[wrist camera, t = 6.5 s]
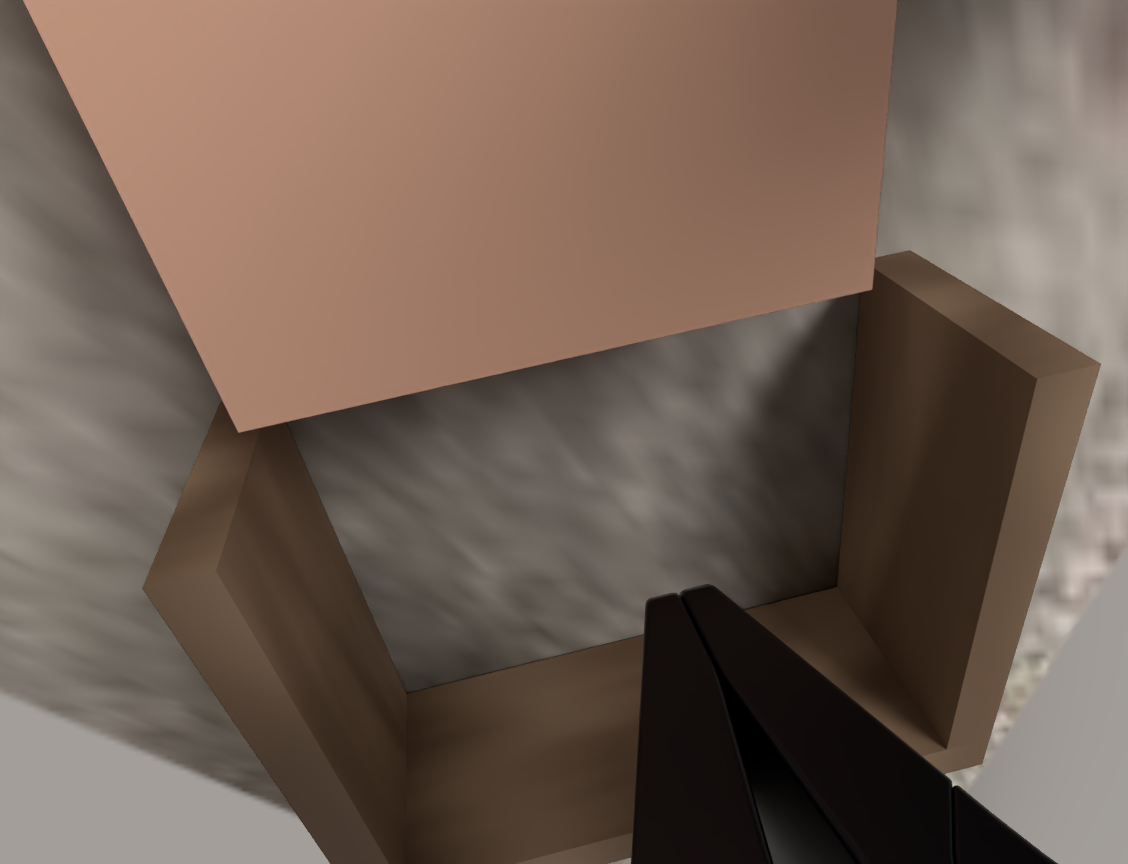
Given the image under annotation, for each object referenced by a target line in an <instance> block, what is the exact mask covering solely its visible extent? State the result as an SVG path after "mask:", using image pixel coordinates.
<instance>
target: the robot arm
mask: <svg viewBox="0 0 1128 864" xmlns="http://www.w3.org/2000/svg"><path fill="white" fill-rule="evenodd" d="M631 864H1058V863H1056V862H1055V861H1053V860H1052V859H1050V858H1049V857H1048V856H1046V855H1045V854H1044V853H1042V852H1041V851H1040V850H1039V849H1037V848H1036V847H1035V846H1033V845H1032V844H1031V843H1030V842H1028V841H1027V840H1026V839H1024V838H1023V837H1022V836H1021V835H1019V834H1018V833H1017V832H1015V831H1014V830H1013V829H1012V828H1010V827H1009V826H1008V825H1007V824H1005V823H1004V822H1003V821H1001V820H1000V819H999V818H998V817H996V816H995V815H994V814H992V813H991V812H990V811H989V810H988V809H986V808H985V807H984V806H983V805H981V804H980V803H979V802H978V801H977V800H975V799H974V798H973V797H972V796H971V795H969V794H968V793H967V792H966V791H965V790H963V789H962V788H961V787H960V786H954V787H953V788H952V781H951V780H950V778H948V777H947V776H946V775H945V774H943V773H942V772H941V771H940V770H939V769H937V768H936V767H935V766H934V765H932V764H931V763H930V762H929V761H928V760H926V759H925V758H924V757H923V756H921V755H920V754H919V753H918V752H917V751H915V750H914V749H913V748H912V747H910V746H909V745H908V744H907V743H906V742H904V741H903V740H902V739H901V738H899V737H898V736H897V735H896V734H895V733H893V732H892V731H891V730H890V729H888V728H887V727H886V726H885V725H884V724H882V723H881V722H880V721H879V720H877V719H876V718H875V717H874V716H873V715H871V714H870V713H869V712H868V711H866V710H865V709H864V708H863V707H862V706H860V705H859V704H858V703H857V702H856V701H854V700H853V699H852V698H851V697H849V696H848V695H847V694H846V693H845V692H843V691H842V690H841V689H840V688H838V687H837V686H836V685H835V684H834V683H832V682H831V681H830V680H829V679H827V678H826V677H825V676H824V675H823V674H821V673H820V672H819V671H818V670H816V669H815V668H814V667H813V666H812V665H810V664H809V663H808V662H807V661H805V660H804V659H803V658H802V657H801V656H799V655H798V654H797V653H796V652H794V651H793V650H792V649H791V648H790V647H788V646H787V645H786V644H785V643H783V642H782V641H781V640H780V639H779V638H777V637H776V636H775V635H774V634H772V633H771V632H770V631H769V630H768V629H766V628H765V627H764V626H763V625H761V624H760V623H759V622H758V621H757V620H755V619H754V618H753V617H752V616H750V615H749V614H748V613H747V612H746V611H744V610H743V609H742V608H741V607H739V606H738V605H737V604H736V603H735V602H733V601H732V600H731V599H730V598H729V597H727V596H726V595H725V594H724V593H722V592H721V591H720V590H719V589H718V588H716V587H715V586H713V585H710V584H706V585H702V586H698V587H693V588H689V589H685V590H683V591H682V592H681V593H680V595H678V594H677V593H669V594H665V595H661V596H657V597H653V598H650V599H648V600H647V602H646V607H645V623H644V641H643V659H642V677H641V695H640V713H639V731H638V748H637V766H636V784H635V802H634V820H633V838H632V856H631Z"/></svg>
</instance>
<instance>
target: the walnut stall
mask: <svg viewBox="0 0 1128 864" xmlns="http://www.w3.org/2000/svg"><path fill="white" fill-rule="evenodd" d="M1100 366H1101V364H1100V363H1098V362H1097V361H1095V360H1093V359H1092V358H1090V357H1088V356H1087V355H1085V354H1083V353H1082V352H1080V351H1078V350H1077V349H1075V348H1073V347H1072V346H1070V345H1068V344H1067V343H1065V342H1063V341H1061V340H1060V339H1058V338H1056V337H1055V336H1053V335H1051V334H1050V333H1048V332H1046V331H1045V330H1043V329H1041V328H1040V327H1038V326H1036V325H1035V324H1033V323H1031V322H1030V321H1028V320H1026V319H1025V318H1023V317H1021V316H1019V315H1018V314H1016V313H1014V312H1013V311H1011V310H1009V309H1008V308H1006V307H1004V306H1003V305H1001V304H999V303H998V302H996V301H994V300H993V299H991V298H989V297H988V296H986V295H984V294H983V293H981V292H979V291H977V290H976V289H974V288H972V287H971V286H969V285H967V284H966V283H964V282H962V281H961V280H959V279H957V278H956V277H954V276H952V275H951V274H949V273H947V272H946V271H944V270H942V269H941V268H939V267H937V266H935V265H934V264H932V263H930V262H929V261H927V260H925V259H924V258H922V257H920V256H919V255H917V254H915V253H914V252H912V251H905V252H901V253H896V254H891V255H887V256H882V257H878V258H875V264H874V275H873V286H872V290H869V291H864V292H861V296H860V309H859V321H858V334H857V346H856V359H855V371H854V384H853V396H852V409H851V421H850V433H849V446H848V458H847V471H846V483H845V496H844V508H843V521H842V533H841V545H840V558H839V570H838V583H837V587H835V588H831V589H827V590H823V591H819V592H815V593H811V594H807V595H803V596H799V597H795V598H791V599H787V600H783V601H779V602H775V603H771V604H767V605H763V606H759V607H755V608H751V609H747V610H744V611H746V612H747V613H748V614H749V615H750V616H752V617H753V618H754V619H755V620H757V621H758V622H759V623H760V624H761V625H763V626H764V627H765V628H766V629H768V630H769V631H770V632H771V633H772V634H774V635H775V636H776V637H777V638H779V639H780V640H781V641H782V642H783V643H785V644H786V645H787V646H788V647H790V648H791V649H792V650H793V651H794V652H796V653H797V654H798V655H799V656H801V657H802V658H803V659H804V660H805V661H807V662H808V663H809V664H810V665H812V666H813V667H814V668H815V669H816V670H818V671H819V672H820V673H821V674H823V675H824V676H825V677H826V678H827V679H829V680H830V681H831V682H832V683H834V684H835V685H836V686H837V687H838V688H840V689H841V690H842V691H843V692H845V693H846V694H847V695H848V696H849V697H851V698H852V699H853V700H854V701H856V702H857V703H858V704H859V705H860V706H862V707H863V708H864V709H865V710H866V711H868V712H869V713H870V714H871V715H873V716H874V717H875V718H876V719H877V720H879V721H880V722H881V723H882V724H884V725H885V726H886V727H887V728H888V729H890V730H891V731H892V732H893V733H895V734H896V735H897V736H898V737H899V738H901V739H902V740H903V741H904V742H906V743H907V744H908V745H909V746H910V747H912V748H913V749H914V750H915V751H917V752H918V753H919V754H920V755H921V756H923V757H924V758H925V759H926V760H928V761H929V762H930V763H931V764H932V765H934V766H935V767H936V768H937V769H939V770H940V771H941V772H942V773H943V774H946V773H950V772H954V771H957V770H961V769H965V768H969V767H972V766H976V765H980V764H982V763H983V759H984V756H985V753H986V749H987V746H988V742H989V739H990V736H991V732H992V729H993V726H994V722H995V719H996V716H997V712H998V709H999V705H1000V702H1001V699H1002V695H1003V692H1004V689H1005V685H1006V682H1007V679H1008V675H1009V672H1010V668H1011V665H1012V662H1013V658H1014V655H1015V652H1016V648H1017V645H1018V642H1019V638H1020V635H1021V631H1022V628H1023V625H1024V621H1025V618H1026V615H1027V611H1028V608H1029V605H1030V601H1031V598H1032V594H1033V591H1034V588H1035V584H1036V581H1037V578H1038V574H1039V571H1040V567H1041V564H1042V561H1043V557H1044V554H1045V551H1046V547H1047V544H1048V541H1049V537H1050V534H1051V530H1052V527H1053V524H1054V520H1055V517H1056V514H1057V510H1058V507H1059V504H1060V500H1061V497H1062V493H1063V490H1064V487H1065V483H1066V480H1067V477H1068V473H1069V470H1070V467H1071V463H1072V460H1073V456H1074V453H1075V450H1076V446H1077V443H1078V440H1079V436H1080V433H1081V430H1082V426H1083V423H1084V419H1085V416H1086V413H1087V409H1088V406H1089V403H1090V399H1091V396H1092V392H1093V389H1094V386H1095V382H1096V379H1097V376H1098V372H1099V369H1100ZM142 589H143V590H144V592H145V593H146V595H147V596H148V598H149V599H150V601H151V602H152V603H153V605H154V606H155V608H156V609H157V611H158V612H159V614H160V615H161V617H162V618H163V620H164V621H165V622H166V624H167V625H168V627H169V628H170V630H171V631H172V633H173V634H174V636H175V637H176V639H177V640H178V642H179V643H180V644H181V646H182V647H183V649H184V650H185V652H186V653H187V655H188V656H189V658H190V659H191V661H192V662H193V663H194V665H195V666H196V668H197V669H198V671H199V672H200V674H201V675H202V677H203V678H204V680H205V681H206V682H207V684H208V685H209V687H210V688H211V690H212V691H213V693H214V694H215V696H216V697H217V699H218V700H219V701H220V703H221V704H222V706H223V707H224V709H225V710H226V712H227V713H228V715H229V716H230V718H231V719H232V721H233V722H234V723H235V725H236V726H237V728H238V729H239V731H240V732H241V734H242V735H243V737H244V738H245V740H246V741H247V742H248V744H249V745H250V747H251V748H252V750H253V751H254V753H255V754H256V756H257V757H258V759H259V760H260V761H261V763H262V764H263V766H264V767H265V769H266V770H267V772H268V773H269V775H270V776H271V778H272V779H273V780H274V782H275V783H276V785H277V786H278V788H279V789H280V791H281V792H282V794H283V795H284V797H285V798H286V799H287V801H288V802H289V804H290V805H291V807H292V808H293V810H294V811H295V813H296V814H297V816H298V817H299V819H300V820H301V821H302V823H303V824H304V826H305V827H306V829H307V830H308V832H309V833H310V834H311V836H312V838H313V839H314V840H315V842H316V843H317V845H318V846H319V848H320V849H321V851H322V852H323V853H324V855H325V856H326V858H327V859H328V861H329V862H330V864H608V863H611V862H615V861H619V860H623V859H627V858H630V857H631V856H632V838H633V820H634V802H635V784H636V766H637V748H638V731H639V713H640V695H641V677H642V659H643V641H644V635H642V636H638V637H634V638H630V639H626V640H622V641H618V642H614V643H610V644H606V645H601V646H597V647H593V648H589V649H585V650H581V651H577V652H573V653H569V654H565V655H561V656H557V657H553V658H549V659H545V660H541V661H537V662H533V663H529V664H525V665H521V666H517V667H513V668H509V669H505V670H501V671H497V672H493V673H489V674H484V675H480V676H476V677H472V678H468V679H464V680H460V681H456V682H452V683H448V684H444V685H440V686H436V687H432V688H428V689H424V690H420V691H416V692H412V693H408V694H407V693H406V691H405V689H404V687H403V684H402V682H401V680H400V678H399V675H398V673H397V671H396V669H395V666H394V664H393V662H392V660H391V657H390V655H389V653H388V651H387V648H386V646H385V644H384V642H383V639H382V637H381V635H380V633H379V630H378V628H377V626H376V624H375V621H374V619H373V617H372V615H371V612H370V610H369V608H368V606H367V603H366V601H365V599H364V597H363V594H362V592H361V590H360V588H359V585H358V583H357V581H356V579H355V576H354V574H353V572H352V570H351V567H350V565H349V563H348V561H347V558H346V556H345V554H344V552H343V549H342V547H341V545H340V543H339V540H338V538H337V536H336V534H335V531H334V529H333V527H332V525H331V522H330V520H329V518H328V516H327V513H326V511H325V509H324V507H323V504H322V502H321V500H320V498H319V495H318V493H317V491H316V489H315V486H314V484H313V482H312V480H311V477H310V475H309V473H308V471H307V468H306V466H305V464H304V462H303V459H302V457H301V455H300V453H299V450H298V448H297V446H296V444H295V441H294V439H293V437H292V435H291V432H290V430H289V428H288V426H287V423H286V422H284V423H279V424H275V425H270V426H266V427H261V428H257V429H253V430H248V431H244V432H239V433H238V431H237V429H236V427H235V425H234V423H233V421H232V419H231V417H230V415H229V413H228V411H227V409H226V407H225V405H224V403H223V402H221V403H220V405H219V407H218V409H217V412H216V414H215V416H214V419H213V421H212V424H211V426H210V428H209V431H208V433H207V436H206V438H205V440H204V443H203V445H202V447H201V450H200V452H199V455H198V457H197V459H196V462H195V464H194V467H193V469H192V471H191V474H190V476H189V478H188V481H187V483H186V486H185V488H184V490H183V493H182V495H181V498H180V500H179V502H178V505H177V507H176V509H175V512H174V514H173V517H172V519H171V521H170V524H169V526H168V529H167V531H166V533H165V536H164V538H163V540H162V543H161V545H160V548H159V550H158V552H157V555H156V557H155V560H154V562H153V564H152V567H151V569H150V571H149V574H148V576H147V579H146V581H145V583H144V586H143V588H142Z"/></svg>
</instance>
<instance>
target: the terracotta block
mask: <svg viewBox="0 0 1128 864" xmlns="http://www.w3.org/2000/svg"><path fill="white" fill-rule="evenodd" d="M23 1H24V3H25V5H26V7H27V9H28V11H29V13H30V15H31V17H32V19H33V21H34V23H35V25H36V27H37V30H38V32H39V34H40V36H41V38H42V40H43V42H44V44H45V46H46V48H47V50H48V52H49V54H50V56H51V58H52V60H53V62H54V64H55V66H56V68H57V70H58V72H59V74H60V76H61V78H62V80H63V82H64V84H65V86H66V88H67V90H68V92H69V94H70V96H71V98H72V100H73V102H74V104H75V106H76V108H77V110H78V112H79V114H80V116H81V118H82V120H83V122H84V124H85V126H86V128H87V130H88V132H89V134H90V136H91V138H92V140H93V142H94V144H95V146H96V148H97V150H98V152H99V154H100V156H101V158H102V160H103V162H104V164H105V166H106V168H107V170H108V172H109V174H110V176H111V178H112V180H113V182H114V184H115V186H116V188H117V190H118V192H119V194H120V196H121V198H122V200H123V202H124V204H125V206H126V208H127V210H128V212H129V214H130V216H131V218H132V220H133V222H134V224H135V226H136V228H137V230H138V232H139V234H140V236H141V238H142V240H143V242H144V244H145V246H146V248H147V250H148V252H149V254H150V256H151V258H152V260H153V262H154V264H155V266H156V268H157V270H158V272H159V274H160V276H161V278H162V280H163V282H164V284H165V286H166V288H167V290H168V292H169V294H170V296H171V298H172V300H173V302H174V304H175V306H176V308H177V310H178V312H179V314H180V316H181V318H182V320H183V322H184V324H185V326H186V328H187V330H188V332H189V334H190V336H191V338H192V340H193V343H194V345H195V347H196V349H197V351H198V353H199V355H200V357H201V359H202V361H203V363H204V365H205V367H206V369H207V371H208V373H209V375H210V377H211V379H212V381H213V383H214V385H215V387H216V389H217V391H218V393H219V395H220V397H221V399H222V401H223V403H224V405H225V407H226V409H227V411H228V413H229V415H230V417H231V419H232V421H233V423H234V425H235V427H236V429H237V431H238V433H239V432H244V431H248V430H253V429H257V428H261V427H266V426H270V425H275V424H279V423H284V422H288V421H292V420H297V419H301V418H306V417H310V416H315V415H319V414H323V413H328V412H332V411H337V410H341V409H346V408H350V407H354V406H359V405H363V404H368V403H372V402H377V401H381V400H386V399H390V398H394V397H399V396H403V395H408V394H412V393H417V392H421V391H425V390H430V389H434V388H439V387H443V386H448V385H452V384H456V383H461V382H465V381H470V380H474V379H479V378H483V377H487V376H492V375H496V374H501V373H505V372H510V371H514V370H519V369H523V368H527V367H532V366H536V365H541V364H545V363H550V362H554V361H558V360H563V359H567V358H572V357H576V356H581V355H585V354H589V353H594V352H598V351H603V350H607V349H612V348H616V347H620V346H625V345H629V344H634V343H638V342H643V341H647V340H651V339H656V338H660V337H665V336H669V335H674V334H678V333H683V332H687V331H691V330H696V329H700V328H705V327H709V326H714V325H718V324H722V323H727V322H731V321H736V320H740V319H745V318H749V317H753V316H758V315H762V314H767V313H771V312H776V311H780V310H784V309H789V308H793V307H798V306H802V305H807V304H811V303H816V302H820V301H824V300H829V299H833V298H838V297H842V296H847V295H851V294H855V293H860V292H864V291H869V290H872V286H873V275H874V264H875V252H876V241H877V229H878V218H879V207H880V195H881V184H882V173H883V161H884V150H885V138H886V127H887V116H888V104H889V93H890V81H891V70H892V59H893V47H894V36H895V24H896V13H897V2H898V0H23Z"/></svg>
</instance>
